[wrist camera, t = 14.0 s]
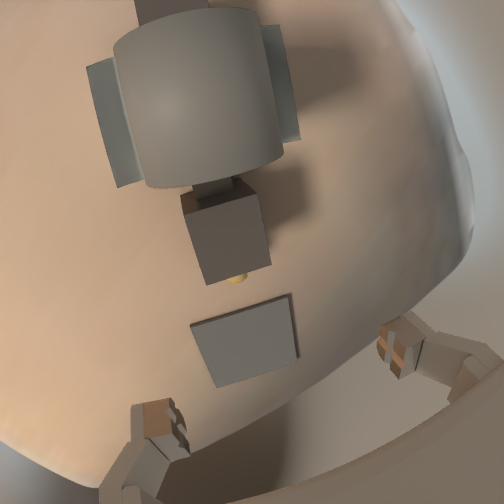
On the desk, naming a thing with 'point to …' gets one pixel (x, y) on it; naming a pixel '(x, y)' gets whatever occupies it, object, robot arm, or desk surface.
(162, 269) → the desk surface
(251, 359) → the pad
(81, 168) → the desk surface
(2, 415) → the desk surface
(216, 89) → the housing
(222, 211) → the grey long block-ended bar
